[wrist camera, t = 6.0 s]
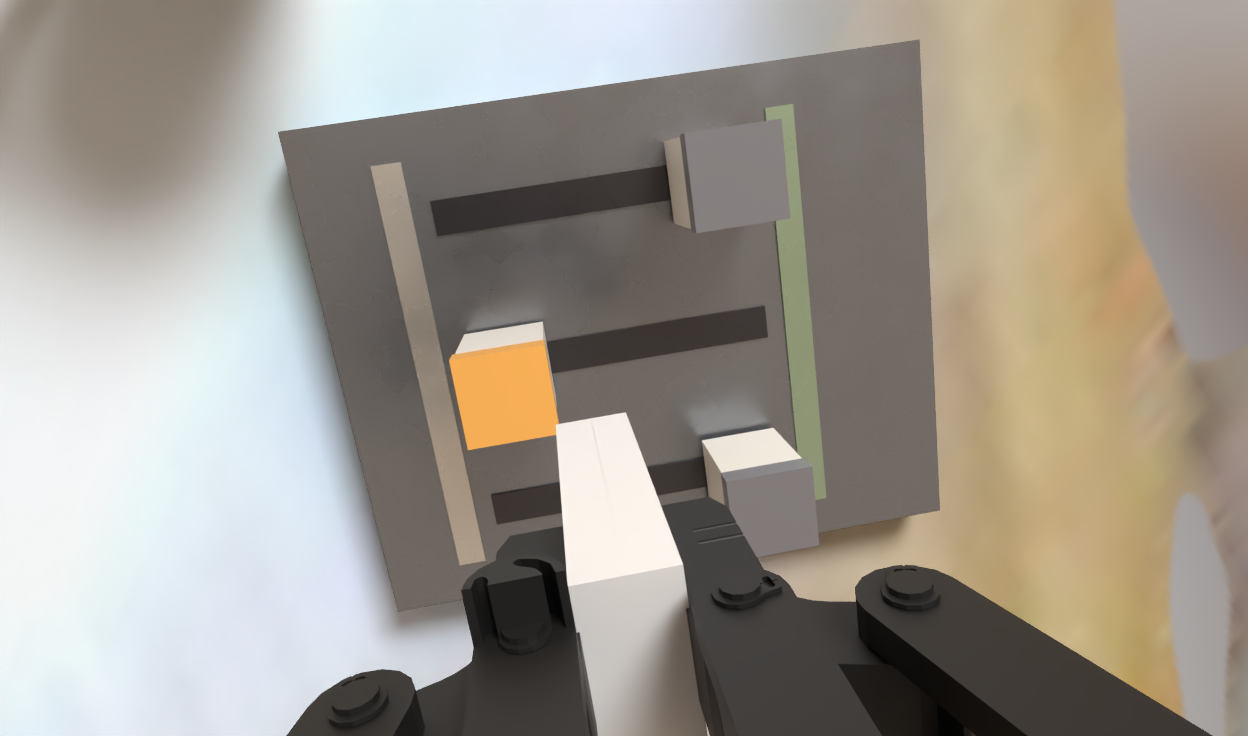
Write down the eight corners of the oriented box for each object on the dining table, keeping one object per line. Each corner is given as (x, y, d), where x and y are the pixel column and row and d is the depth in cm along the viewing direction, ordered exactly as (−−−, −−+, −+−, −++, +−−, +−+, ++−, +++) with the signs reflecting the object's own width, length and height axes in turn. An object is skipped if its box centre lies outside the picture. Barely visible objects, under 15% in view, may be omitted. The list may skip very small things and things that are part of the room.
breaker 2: (709, 508, 30) (735, 561, 26) (700, 439, 29) (726, 482, 25) (781, 495, 30) (819, 545, 26) (774, 426, 29) (812, 466, 25)
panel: (407, 584, 32) (397, 612, 30) (296, 135, 27) (276, 131, 25) (916, 490, 33) (940, 511, 31) (893, 48, 29) (920, 39, 26)
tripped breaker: (478, 410, 28) (468, 450, 24) (462, 333, 27) (448, 360, 23) (557, 396, 28) (560, 434, 24) (543, 320, 27) (544, 344, 23)
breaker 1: (672, 224, 27) (696, 233, 23) (661, 140, 26) (684, 133, 22) (752, 212, 27) (790, 218, 23) (744, 127, 26) (781, 118, 22)
